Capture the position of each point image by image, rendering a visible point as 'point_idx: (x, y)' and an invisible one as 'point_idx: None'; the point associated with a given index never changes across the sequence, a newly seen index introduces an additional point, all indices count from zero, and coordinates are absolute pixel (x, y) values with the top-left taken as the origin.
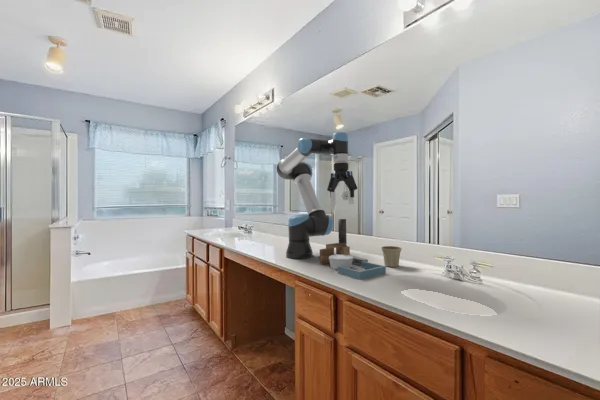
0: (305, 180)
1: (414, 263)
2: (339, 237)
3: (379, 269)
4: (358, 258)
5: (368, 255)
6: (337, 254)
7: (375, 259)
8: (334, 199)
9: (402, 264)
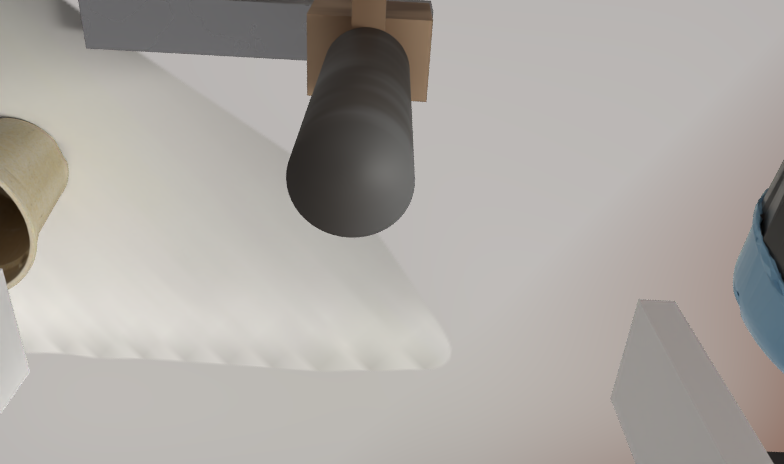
0: None
1: None
2: (367, 42)
3: None
4: (166, 23)
5: (381, 308)
6: None
7: (246, 241)
8: (654, 462)
9: None
